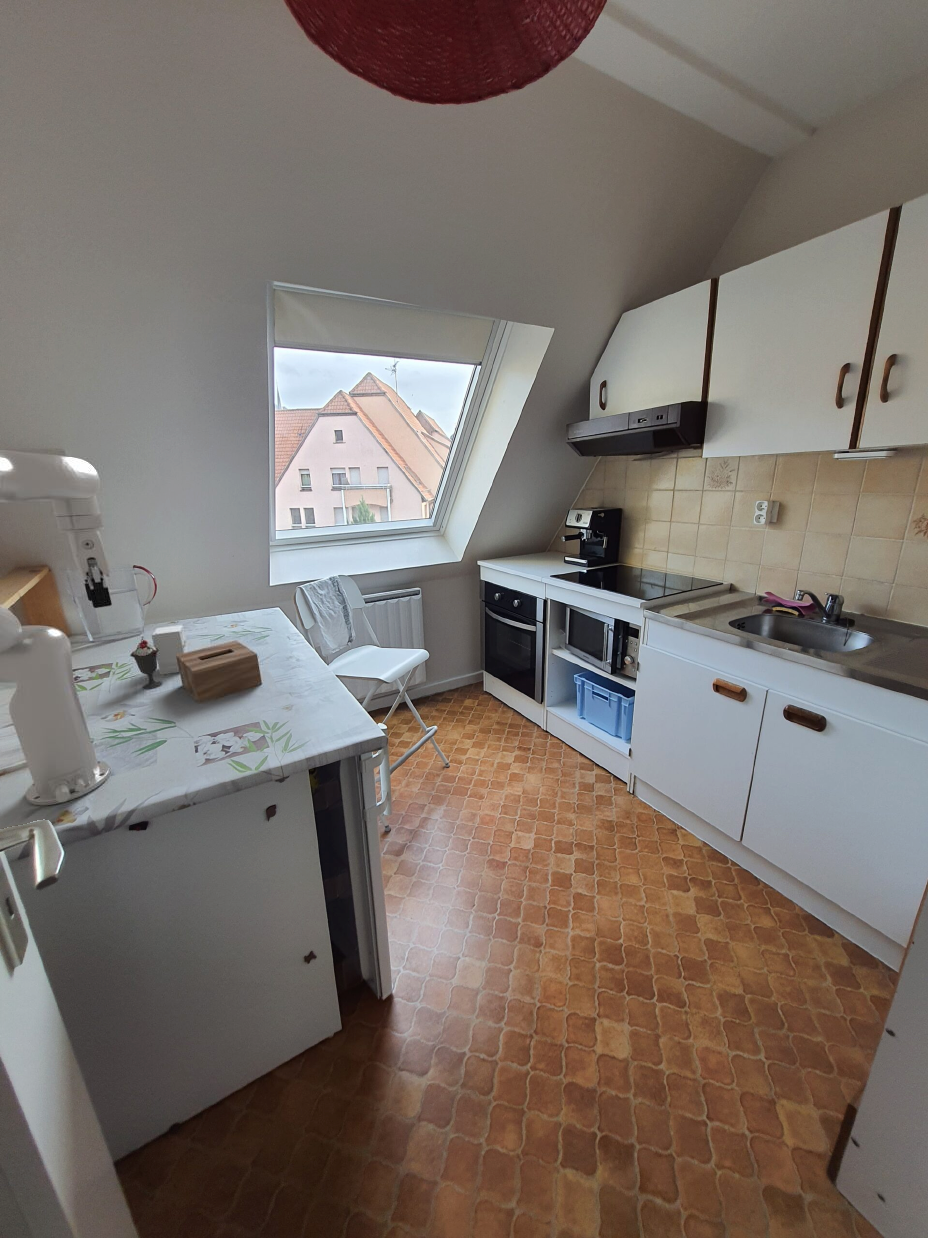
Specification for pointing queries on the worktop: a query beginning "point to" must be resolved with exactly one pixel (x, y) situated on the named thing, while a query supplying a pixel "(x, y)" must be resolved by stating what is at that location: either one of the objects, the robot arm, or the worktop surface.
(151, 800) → the worktop surface
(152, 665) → the sundae
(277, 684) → the worktop surface
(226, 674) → the brown slotted wooden box
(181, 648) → the supplement box
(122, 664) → the worktop surface
